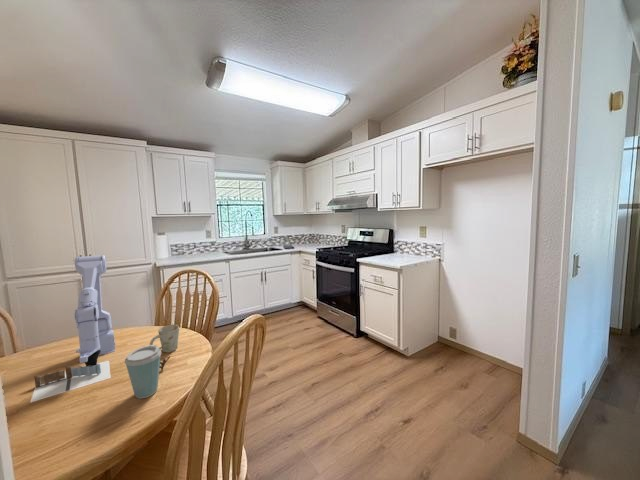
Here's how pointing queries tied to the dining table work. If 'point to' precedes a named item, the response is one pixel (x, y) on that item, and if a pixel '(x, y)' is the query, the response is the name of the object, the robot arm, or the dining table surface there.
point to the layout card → (70, 383)
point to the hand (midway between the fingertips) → (92, 370)
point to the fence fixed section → (53, 377)
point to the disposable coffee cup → (144, 370)
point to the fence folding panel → (86, 370)
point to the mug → (168, 338)
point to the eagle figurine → (163, 363)
